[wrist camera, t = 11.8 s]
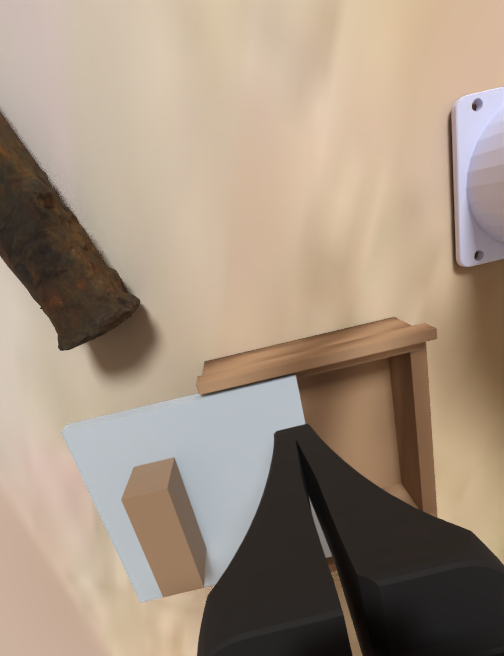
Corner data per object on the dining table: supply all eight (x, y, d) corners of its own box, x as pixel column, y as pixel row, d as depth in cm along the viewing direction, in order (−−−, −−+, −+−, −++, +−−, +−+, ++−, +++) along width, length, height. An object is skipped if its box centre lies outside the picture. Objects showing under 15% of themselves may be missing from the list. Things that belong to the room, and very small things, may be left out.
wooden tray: (393, 308, 18) (436, 328, 15) (410, 490, 22) (447, 542, 18) (202, 353, 18) (196, 385, 15) (252, 528, 22) (258, 589, 18)
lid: (293, 370, 16) (306, 397, 13) (328, 546, 19) (344, 594, 16) (67, 424, 15) (36, 461, 13) (143, 591, 19) (130, 646, 16)
